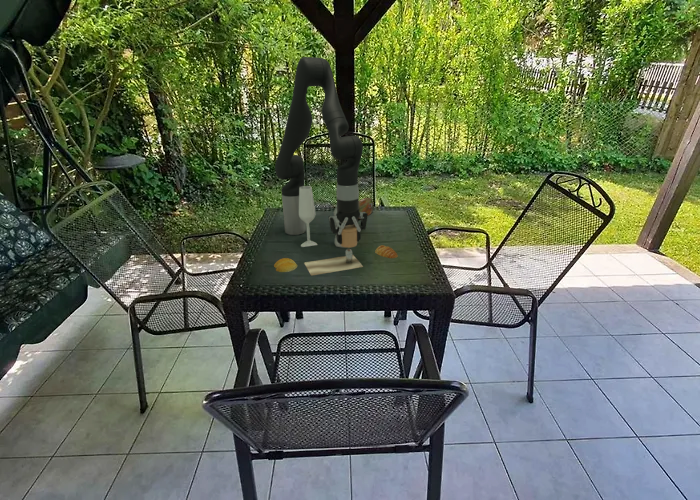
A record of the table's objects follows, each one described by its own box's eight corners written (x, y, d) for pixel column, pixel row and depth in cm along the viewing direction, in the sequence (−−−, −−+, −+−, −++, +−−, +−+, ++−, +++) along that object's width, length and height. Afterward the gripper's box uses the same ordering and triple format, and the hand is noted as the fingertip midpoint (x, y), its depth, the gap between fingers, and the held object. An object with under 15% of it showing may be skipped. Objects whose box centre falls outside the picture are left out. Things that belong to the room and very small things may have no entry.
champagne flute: (297, 246, 173) (293, 188, 163) (306, 240, 178) (303, 184, 169) (311, 249, 170) (308, 190, 160) (320, 243, 175) (317, 186, 166)
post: (344, 261, 155) (344, 248, 153) (351, 260, 156) (350, 247, 154) (347, 263, 153) (346, 250, 151) (353, 262, 154) (353, 249, 152)
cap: (338, 242, 154) (338, 225, 151) (353, 240, 155) (353, 223, 153) (343, 248, 149) (343, 231, 146) (359, 246, 150) (359, 228, 148)
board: (304, 266, 156) (303, 262, 155) (353, 258, 161) (353, 254, 161) (311, 279, 146) (311, 275, 146) (363, 270, 152) (363, 266, 151)
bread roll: (277, 278, 148) (276, 267, 146) (272, 267, 156) (271, 257, 154) (300, 273, 151) (300, 263, 149) (294, 263, 158) (293, 254, 157)
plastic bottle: (349, 251, 167) (348, 202, 159) (332, 250, 168) (331, 201, 160) (352, 245, 173) (352, 197, 165) (336, 244, 174) (335, 197, 166)
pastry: (402, 259, 160) (402, 250, 158) (389, 264, 156) (389, 255, 155) (385, 251, 167) (385, 242, 165) (372, 256, 163) (372, 247, 162)
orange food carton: (357, 221, 199) (357, 204, 195) (352, 220, 200) (351, 203, 197) (374, 212, 210) (374, 196, 207) (368, 211, 212) (368, 195, 209)
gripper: (363, 191, 150) (363, 235, 157) (324, 195, 146) (326, 241, 153) (371, 197, 144) (371, 243, 150) (330, 201, 140) (332, 249, 146)
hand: (348, 242), depth 152 cm, fingers closed on cap, 5 cm apart
